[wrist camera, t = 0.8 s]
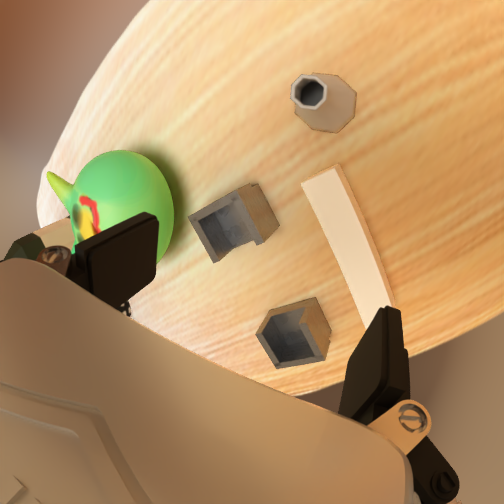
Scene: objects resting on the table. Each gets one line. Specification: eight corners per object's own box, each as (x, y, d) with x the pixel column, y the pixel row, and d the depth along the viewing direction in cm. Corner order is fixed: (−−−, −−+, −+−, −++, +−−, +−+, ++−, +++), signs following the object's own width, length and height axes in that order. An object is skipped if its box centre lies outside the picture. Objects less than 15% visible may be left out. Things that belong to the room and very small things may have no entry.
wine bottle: (103, 226, 51) (-32, 300, 26) (97, 257, 55) (-20, 331, 30) (79, 202, 52) (-50, 263, 26) (74, 233, 56) (-39, 296, 31)
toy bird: (195, 263, 46) (133, 313, 33) (118, 244, 51) (58, 279, 39) (191, 144, 38) (111, 159, 26) (109, 146, 44) (36, 163, 31)
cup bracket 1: (256, 180, 37) (236, 189, 32) (279, 225, 38) (264, 242, 33) (211, 204, 41) (187, 216, 36) (234, 245, 42) (213, 263, 37)
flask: (341, 143, 31) (330, 148, 23) (285, 116, 32) (254, 112, 24) (367, 90, 28) (366, 73, 19) (309, 63, 29) (285, 41, 20)
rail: (339, 163, 32) (334, 168, 28) (394, 298, 36) (396, 320, 32) (309, 176, 34) (300, 183, 30) (367, 306, 38) (365, 328, 34)
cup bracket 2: (315, 297, 40) (305, 322, 35) (332, 333, 41) (325, 360, 36) (269, 310, 44) (255, 334, 39) (288, 343, 45) (276, 368, 40)
